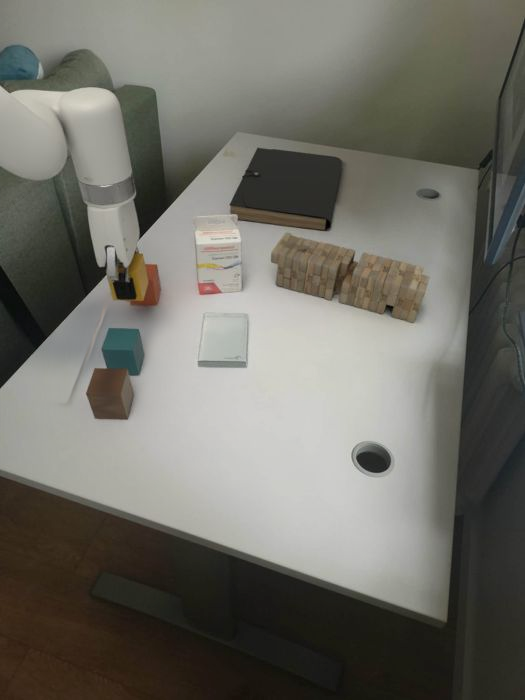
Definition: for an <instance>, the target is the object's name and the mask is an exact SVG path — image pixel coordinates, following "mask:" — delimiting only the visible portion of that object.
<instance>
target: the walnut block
mask: <svg viewBox="0 0 525 700" xmlns="http://www.w3.org/2000/svg"><path fill="white" fill-rule="evenodd" d="M85 395H86V397H87V400H88V403H89V406H90V409H91V412H92V415H93V417H94V419H95V420H98V419H99V420H128V419H129V415H130V412H131V408H132V404H133V400H134V397H135V393H134V387H133V385H132V380H131V375H129V372H128V369H109V368H107V367H106V368H105V367H102V368H101V367H94V369H93V372H92V375H91V377H90V380H89V383H88V387H87V389H86V393H85Z"/></svg>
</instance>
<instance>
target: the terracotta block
mask: <svg viewBox="0 0 525 700" xmlns="http://www.w3.org/2000/svg"><path fill="white" fill-rule="evenodd" d="M145 267H146V272H147V277H148V286H147V289H146V293H145V296H144V300H143V301H129V303H130V306H158V302H159V299H160V295H161V291H162V288H161V281H160V273H159V268H158V264H156V263H145Z"/></svg>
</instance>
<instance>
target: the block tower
mask: <svg viewBox="0 0 525 700" xmlns="http://www.w3.org/2000/svg"><path fill="white" fill-rule="evenodd" d="M355 255H356V250H355V249H353V248H347V247H343V246H339V245H336V244H335V245H334V244H333V243H332V244H331V243H328V242H327V243H326V242H323V241H317V240H312V239H309V238H305V237H299V236H297V235H296V236H295V235H293V234H292V233H291V232H285V233H284V234H283V235H282V237H281V239H280V240H279V241H278V242H277V244H276V245H275V246H274V248H273V249H272V250H271V252H270V263H272V264H276V265H277V267H276V278H275V285H276V286H279V287H282V288H284V289H288V290H292V291H296V292H299V293H304V294H307V295H312V296H314V297H321V298H324V299H325V300H328V301H332V299H333V298H334V295H335V294H338V295H339V299H338V302H339V303H341V304H344V305H345V304H346V305H349V306H353V307H355V308H358V309H363V310H366V311H369V312H372V313H377V314H381V315H382V314H384V313H385V310H386V308H387V306H390V307H393V308H392V310H391V314H390V317H391V318H394V319H400V320H403V321H406V322H409V323H412V324H414V323H415V321H416V318H417V316H418V312H419V310H420V307H421V305H422V302H423V299H424V296H425V294H426V290H427V288H428V283H429V280H430V276H429V275H426V274H423V271H424V269H425V268H424V266H421V265H418V264H417V265H416V264H413V263H408V262H406V261H400V260H397V259H392V258H389V257H384V256H379V255H376V254H370V253H367V252H363V253H362V254H361V256H360V257H359V261H354V260H355Z"/></svg>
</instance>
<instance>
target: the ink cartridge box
mask: <svg viewBox="0 0 525 700" xmlns="http://www.w3.org/2000/svg"><path fill="white" fill-rule="evenodd" d="M215 220H216V221H218V222H219V221H220V222H221V221H222V222H221V223H220V222H219V223H210V222H214V221H215ZM193 222H194V223H193V224H194V231H193V236H194V237H193V238H194V249H195V250H194V252H195V265H196V281H197V287H198V294H199V295H210V294H211V295H212V294H224V293H239V292H242V290H243V289H242V288H243V284H242V283H243V280H242V279H243V278H242V277H243V275H242V274H243V242H242V237H241V234H240V229H239V228H238V225H239V224H238V222H239V220H238V216H237V215H236V214H233V215H230V214H216V215H215V214H214V215H213V214H211V215H196V216H194V218H193Z"/></svg>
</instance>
